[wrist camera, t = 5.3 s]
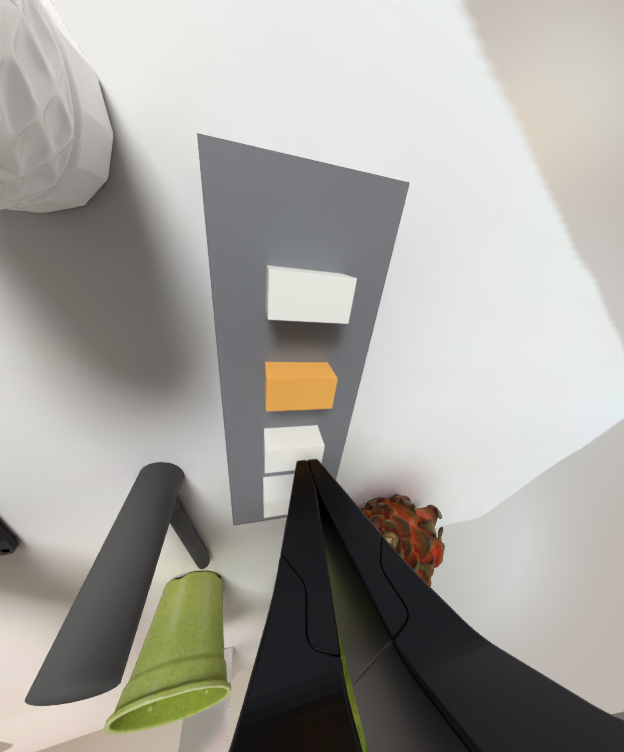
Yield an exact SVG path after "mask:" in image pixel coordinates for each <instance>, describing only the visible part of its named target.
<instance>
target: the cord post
mask: <svg viewBox="0 0 624 752" xmlns="http://www.w3.org/2000/svg"><path fill="white" fill-rule="evenodd" d="M183 477H184V474H183V471H182V470H181V469H180V468H179V467H178V466H176V465H173V464H170V463H164V462H159V463H152V464H149V465H147V466H145V467H144V468H143V469H142V470H141V471H140V473H139V475H138V477H137V479H136V481H135V483H134V485H133V487H132V489H131V491H130V493H129V495H128V497H127V499H126V501H125V503H124V505H123V506H122V508H121V510H120V512H119V514H118V516H117V518H116V520H115V522H114V524H113V526H112V528H111V530H110V532H109V534H108V536H107V538H106V540H105V542H104V544H103V546H102V548H101V550H100V552H99V554H98V556H97V558H96V560H95V562H94V564H93V566H92V568H91V570H90V572H89V574H88V576H87V578H86V580H85V582H84V584H83V586H82V588H81V590H80V592H79V593H78V595H77V597H76V599H75V601H74V603H73V605H72V607H71V609H70V611H69V613H68V615H67V617H66V619H65V621H64V623H63V625H62V627H61V629H60V631H59V633H58V635H57V637H56V639H55V641H54V643H53V645H52V647H51V649H50V651H49V653H48V655H47V657H46V659H45V661H44V663H43V665H42V667H41V669H40V671H39V673H38V675H37V677H36V679H35V680H34V682H33V684H32V686H31V688H30V690H29V692H28V694H27V696H26V698H25V702H26V703H27V704H29V705H34V706H50V705H59V704H66V703H71V702H76V701H80V700H84V699H88V698H91V697H94V696H97V695H100V694H103V693H105V692H108V691H110V690H112V689H113V688H115V687H117V686H118V685H119V684H120V683H121V680H122V676H123V673H124V670H125V667H126V663H127V660H128V657H129V654H130V650H131V647H132V644H133V641H134V637H135V634H136V631H137V628H138V624H139V621H140V618H141V614H142V611H143V608H144V605H145V601H146V598H147V595H148V592H149V588H150V585H151V582H152V579H153V575H154V572H155V569H156V565H157V562H158V559H159V556H160V552H161V549H162V546H163V543H164V539H165V536H166V533H167V530H168V526H169V523H170V520H171V516H172V513H173V510H174V507H175V503H176V500H177V497H178V494H179V490H180V487H181V484H182V481H183Z"/></svg>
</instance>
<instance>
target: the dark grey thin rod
mask: <svg viewBox="0 0 624 752" xmlns="http://www.w3.org/2000/svg"><path fill="white" fill-rule="evenodd" d="M170 524H171V525H172V527H173V528H174V530H175V532H176V533H177V535H178V536H179V538H180V540H181V541H182V543H183V544H184V546H185V547H186V549H187V551H188V552H189V554H190V555H191V557H192V558H193V560H194V562H195V563H196V565H197V566H198V568H199V569H204V568H206V567H207V566H208V564H209V562H210V557H209V555H208V554H207V552H206V550H205V548H204V546H203V544H202V543H201V541H200V539H199V537H198V535H197V534H196V532H195V530H194V528H193V526H192V524H191V523H190V521H189V519H188V517H187V515H186V513H185V512H184V510H183V508H182V506H181V504H180V502H179V501H178V500H176V503H175V507H174V510H173V513H172V516H171V520H170Z"/></svg>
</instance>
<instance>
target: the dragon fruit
mask: <svg viewBox="0 0 624 752" xmlns="http://www.w3.org/2000/svg"><path fill="white" fill-rule="evenodd" d="M361 511H362V512H363V513H364V514H365V515H366V517H367V518H368V519H369V520H370V521H371V523H372V524H373V525H374V526H375V527H376V528H377V530H378V531H379V532H380V533H381V535H382V536H383V537H384V538H385V539H386V540H387V541H388V542H389V544H390V545H391V546H392V547H393V548H394V549H395V551H396V552H397V553H398V554H399V555H400V556H401V557H402V558H403V560H404V561H405V562H406V563H407V564H408V565H409V566H410V567H411V568H412V569H413V570H414V571H415V572H416V573H417V574H418V575H419V576H420V577H421V578H422V579H423V580H424V581H425V582H426V583H427V584H428V585H429V586H431V576H432V575H433V572H434V568H436V567H438V566H439V565H440V564H441V563H442V561H443V553H444V548H445V545H444V543H442V541H441V536H442V535H441V534H442V532H443V527H441V528H440V529H439V531H438V538H437V537H436V532H435V528H434V527H435V524H436V522H437V518H438V517H439V519H441V518H442V515H441V513H440V511H439V510H438V508H437V507H435V506H433V505H428V506H427V507H424V508H417V509H415V506H414V505H413V504H412V503H411V501H410V498H409V497H407V496H401V495H395V496H394V497H392V498H391V499H390V500H388V499H386V498H380V499H374V500H371V501H369V502H367V505H366V509H365V510H361Z"/></svg>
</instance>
